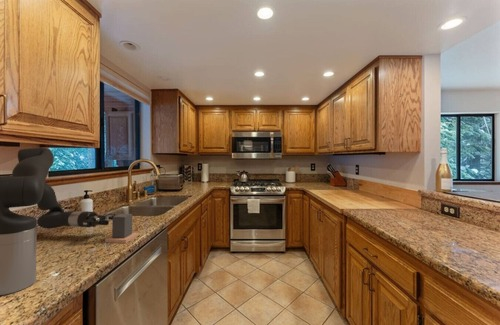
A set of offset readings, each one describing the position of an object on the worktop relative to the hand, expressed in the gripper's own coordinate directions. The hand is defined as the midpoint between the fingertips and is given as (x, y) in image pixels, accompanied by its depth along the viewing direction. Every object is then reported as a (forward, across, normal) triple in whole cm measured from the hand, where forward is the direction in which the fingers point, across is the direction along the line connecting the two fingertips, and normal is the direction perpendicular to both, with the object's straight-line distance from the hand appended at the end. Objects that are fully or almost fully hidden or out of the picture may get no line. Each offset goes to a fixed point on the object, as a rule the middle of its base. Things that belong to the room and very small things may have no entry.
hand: (114, 220), depth 104 cm
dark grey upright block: (+4, 0, +8) cm, 9 cm away
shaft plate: (+4, 0, +9) cm, 10 cm away
